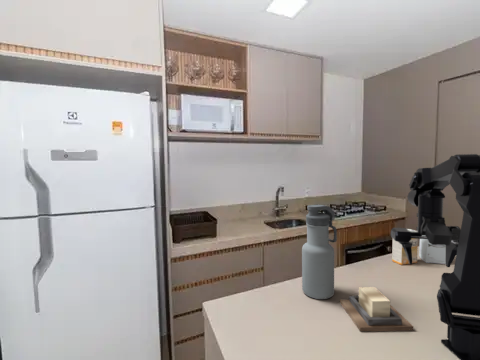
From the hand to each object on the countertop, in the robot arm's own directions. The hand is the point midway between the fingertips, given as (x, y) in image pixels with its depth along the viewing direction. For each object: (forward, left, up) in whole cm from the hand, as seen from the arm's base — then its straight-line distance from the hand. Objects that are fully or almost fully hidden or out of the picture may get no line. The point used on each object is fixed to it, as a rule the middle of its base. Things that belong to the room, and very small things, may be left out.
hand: (428, 265), depth 75 cm
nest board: (-6, +19, -11) cm, 23 cm away
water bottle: (+7, +30, -11) cm, 33 cm away
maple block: (-6, +19, -10) cm, 22 cm away
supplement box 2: (+31, -24, -11) cm, 41 cm away
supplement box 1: (+30, -12, -11) cm, 34 cm away
